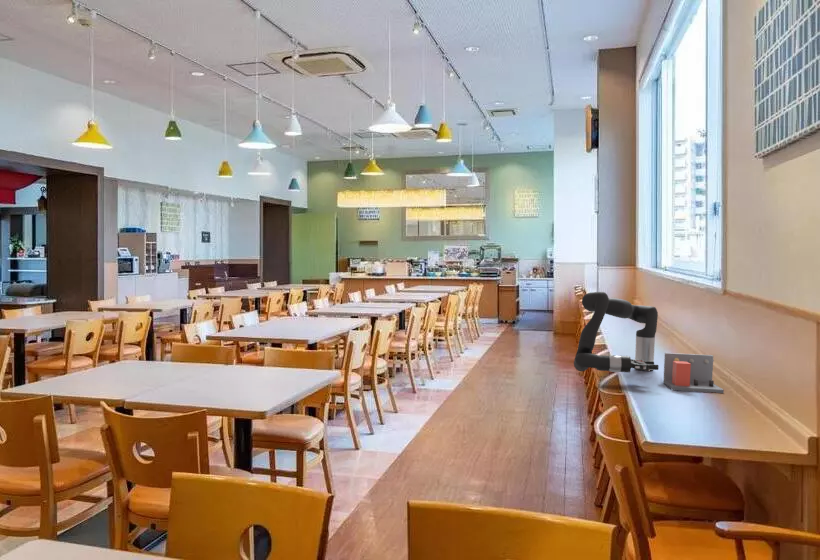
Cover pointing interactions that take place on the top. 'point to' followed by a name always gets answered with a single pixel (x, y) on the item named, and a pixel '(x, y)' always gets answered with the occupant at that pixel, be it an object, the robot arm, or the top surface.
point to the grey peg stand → (692, 372)
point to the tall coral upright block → (681, 373)
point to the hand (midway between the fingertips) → (656, 365)
